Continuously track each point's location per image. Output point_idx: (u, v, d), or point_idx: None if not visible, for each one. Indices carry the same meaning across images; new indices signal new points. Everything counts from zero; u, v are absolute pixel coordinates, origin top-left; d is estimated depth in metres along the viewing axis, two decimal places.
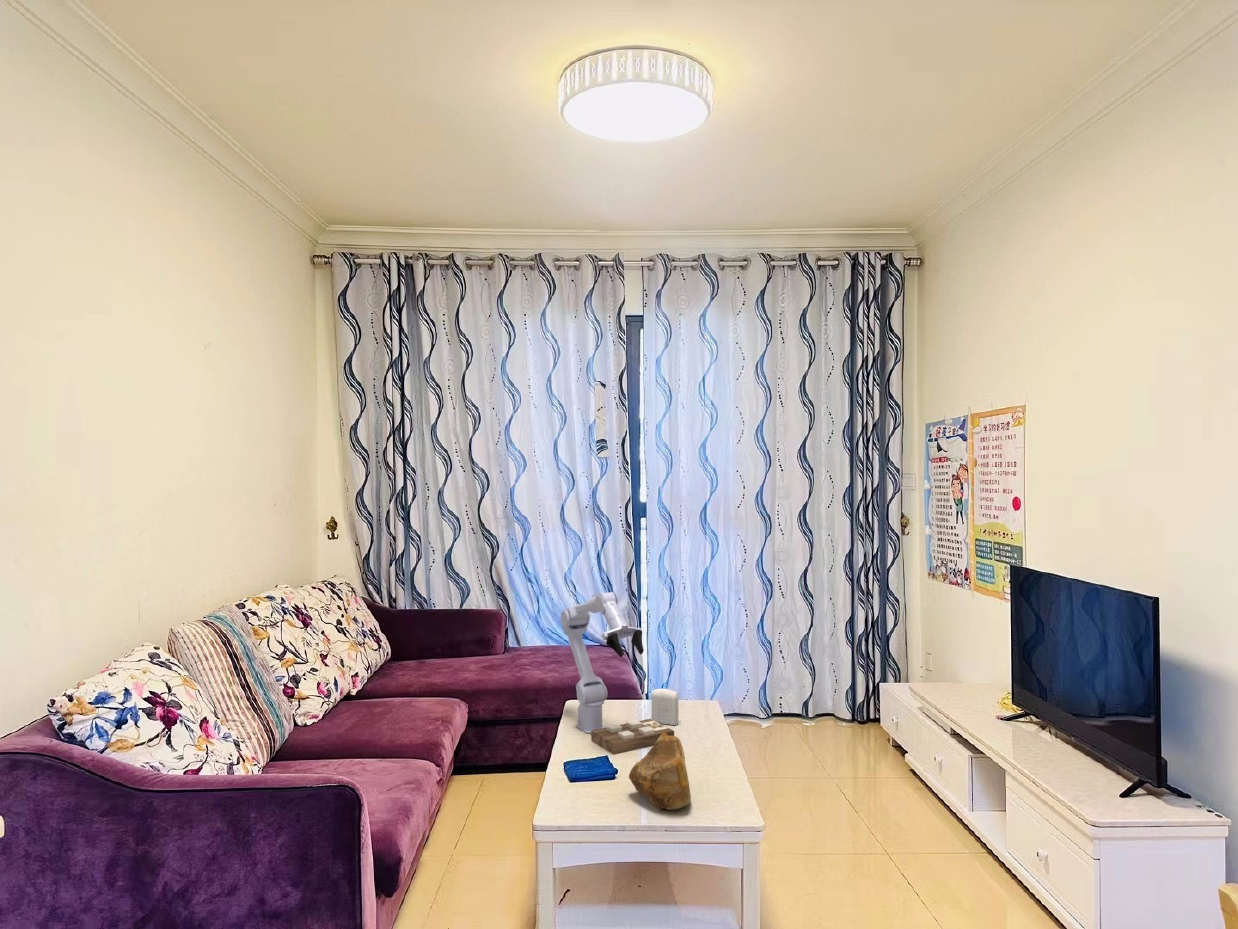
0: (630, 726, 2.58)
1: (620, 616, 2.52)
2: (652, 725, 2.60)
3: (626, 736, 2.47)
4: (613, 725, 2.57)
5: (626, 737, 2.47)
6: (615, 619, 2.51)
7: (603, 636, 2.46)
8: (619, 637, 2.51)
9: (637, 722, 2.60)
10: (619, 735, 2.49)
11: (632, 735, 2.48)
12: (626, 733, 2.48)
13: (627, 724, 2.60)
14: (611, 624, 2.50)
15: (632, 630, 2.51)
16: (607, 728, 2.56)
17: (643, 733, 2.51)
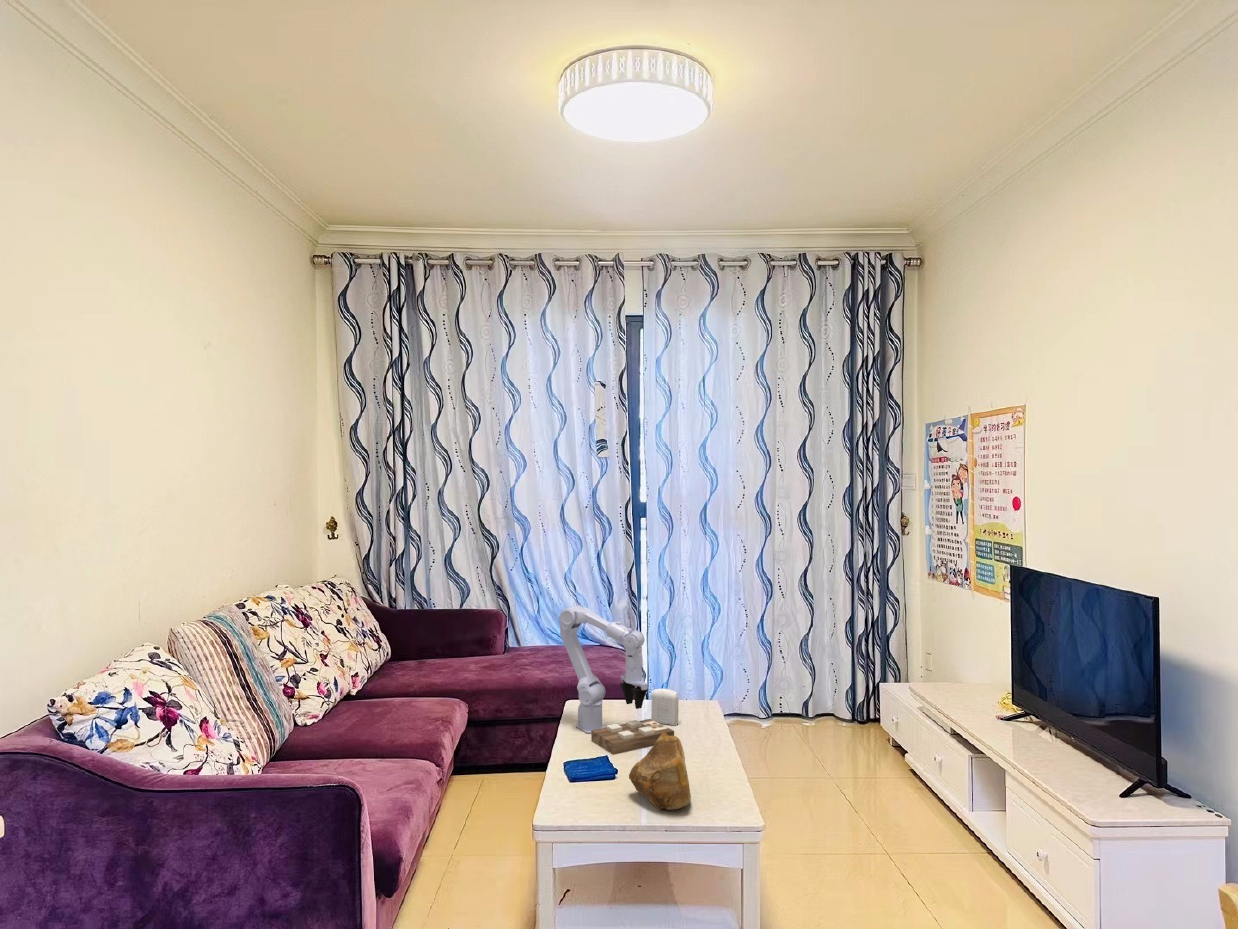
0: (630, 726, 2.58)
1: None
2: (652, 725, 2.60)
3: (626, 736, 2.47)
4: (613, 725, 2.57)
5: (626, 737, 2.47)
6: (641, 669, 2.60)
7: (645, 687, 2.54)
8: (629, 682, 2.59)
9: (637, 722, 2.60)
10: (619, 735, 2.49)
11: (632, 735, 2.48)
12: (626, 733, 2.48)
13: (627, 724, 2.60)
14: (639, 672, 2.58)
15: None
16: (607, 728, 2.56)
17: (643, 733, 2.51)
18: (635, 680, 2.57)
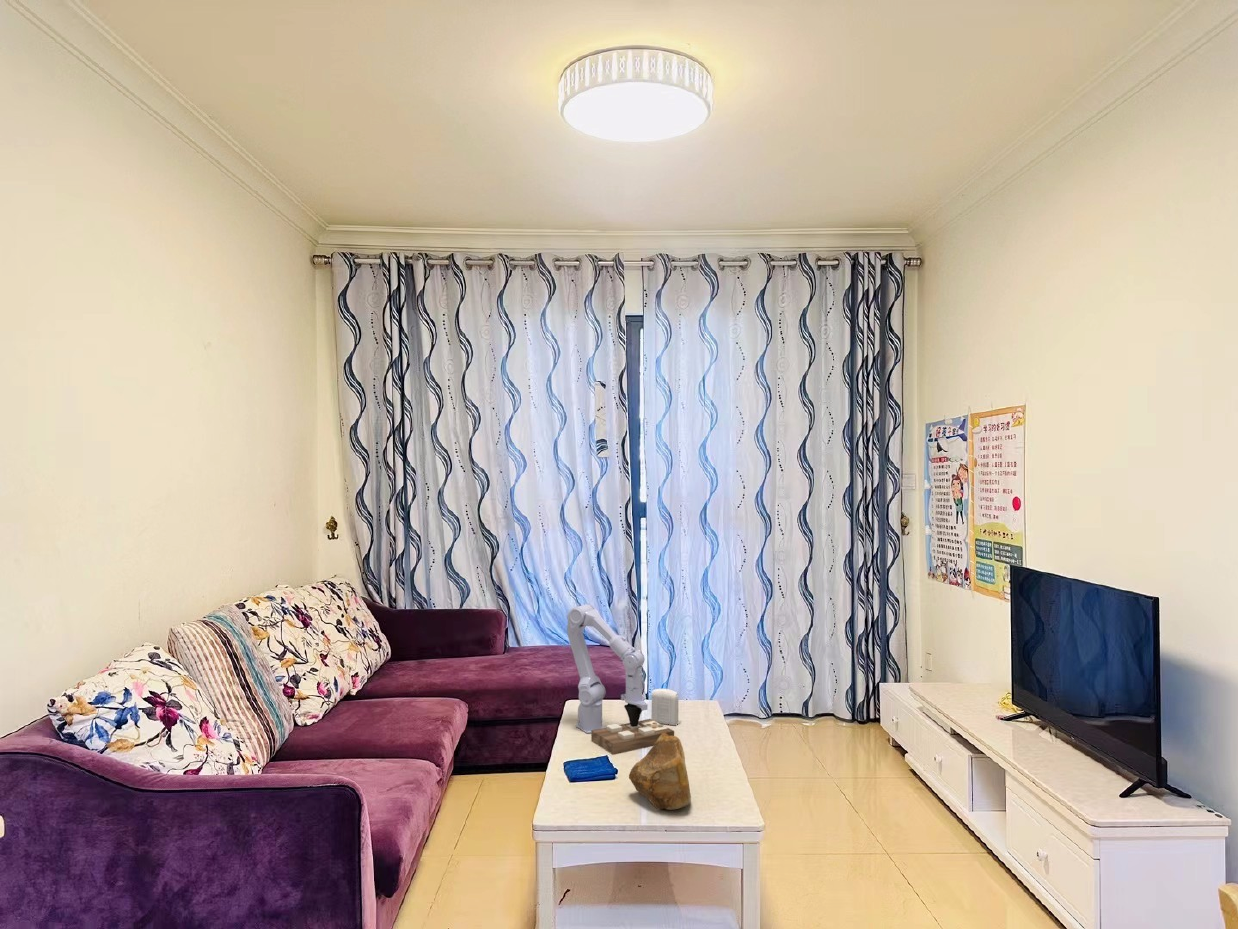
0: None
1: None
2: (652, 725, 2.60)
3: (626, 736, 2.47)
4: (613, 725, 2.57)
5: (626, 737, 2.47)
6: None
7: (645, 707, 2.54)
8: (629, 702, 2.59)
9: None
10: (619, 735, 2.49)
11: (632, 735, 2.48)
12: (626, 733, 2.48)
13: None
14: (639, 692, 2.58)
15: None
16: (607, 728, 2.56)
17: (643, 733, 2.51)
18: (635, 700, 2.57)
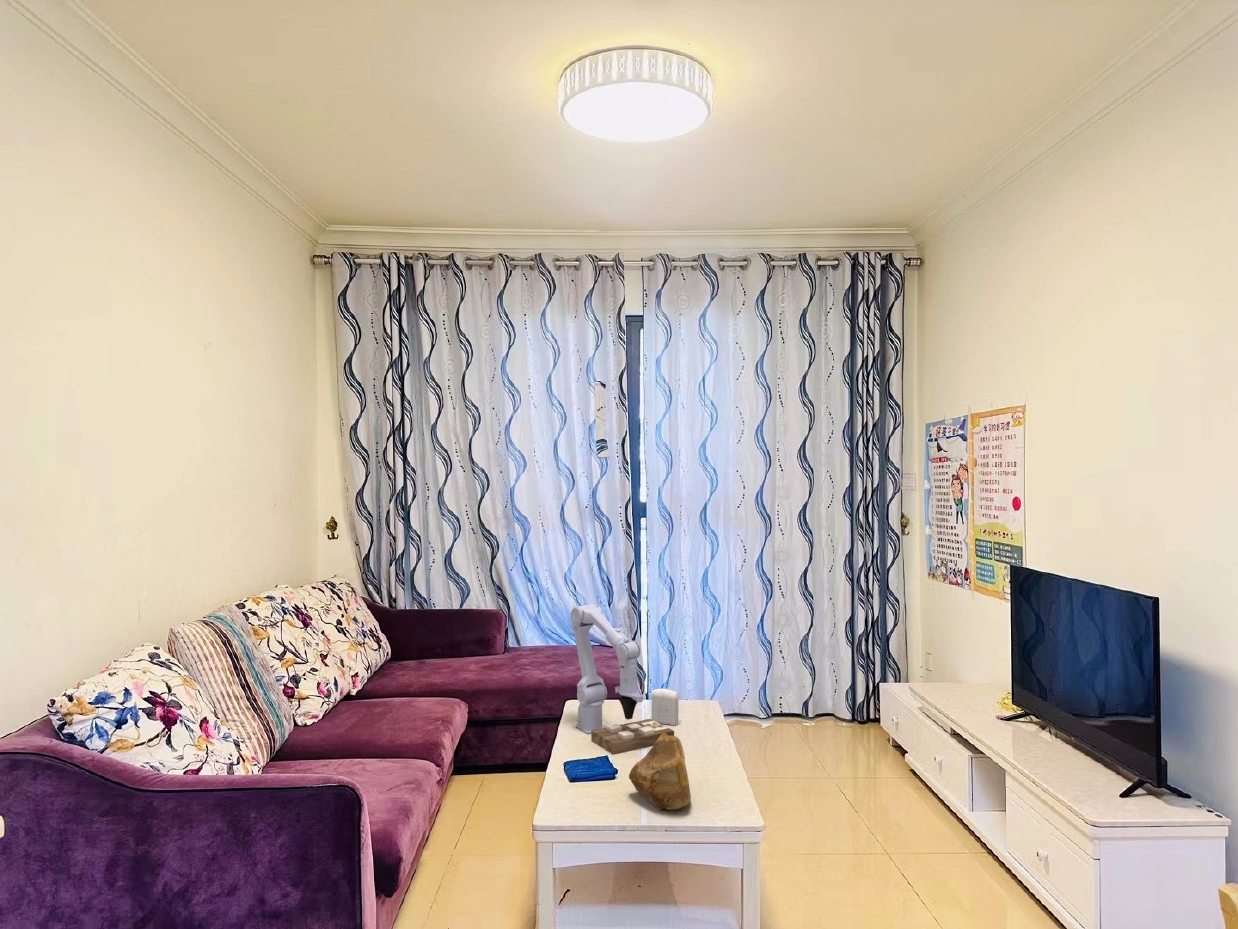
0: None
1: None
2: (652, 725, 2.60)
3: (626, 736, 2.47)
4: (613, 725, 2.57)
5: (626, 737, 2.47)
6: (636, 680, 2.52)
7: (640, 699, 2.46)
8: None
9: (637, 725, 2.60)
10: (619, 735, 2.49)
11: (632, 735, 2.48)
12: (626, 733, 2.48)
13: None
14: (634, 684, 2.50)
15: None
16: (607, 728, 2.56)
17: (643, 733, 2.51)
18: (630, 692, 2.50)
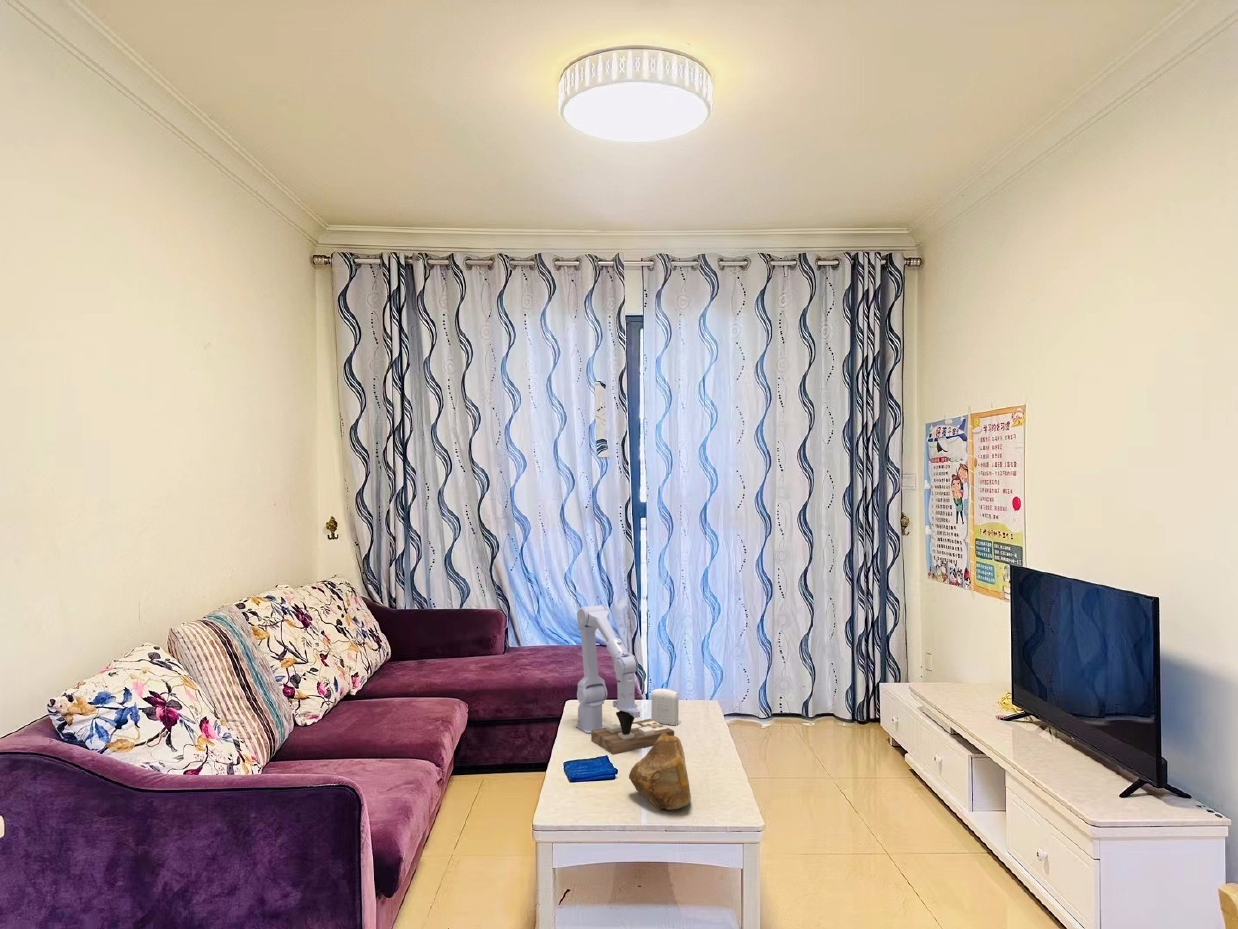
0: None
1: None
2: (652, 725, 2.60)
3: (626, 737, 2.47)
4: (613, 725, 2.57)
5: (626, 738, 2.47)
6: (634, 695, 2.49)
7: (637, 714, 2.43)
8: None
9: (637, 725, 2.60)
10: (619, 736, 2.49)
11: (632, 736, 2.48)
12: None
13: None
14: (632, 699, 2.47)
15: None
16: (607, 728, 2.56)
17: (643, 733, 2.51)
18: (627, 707, 2.46)
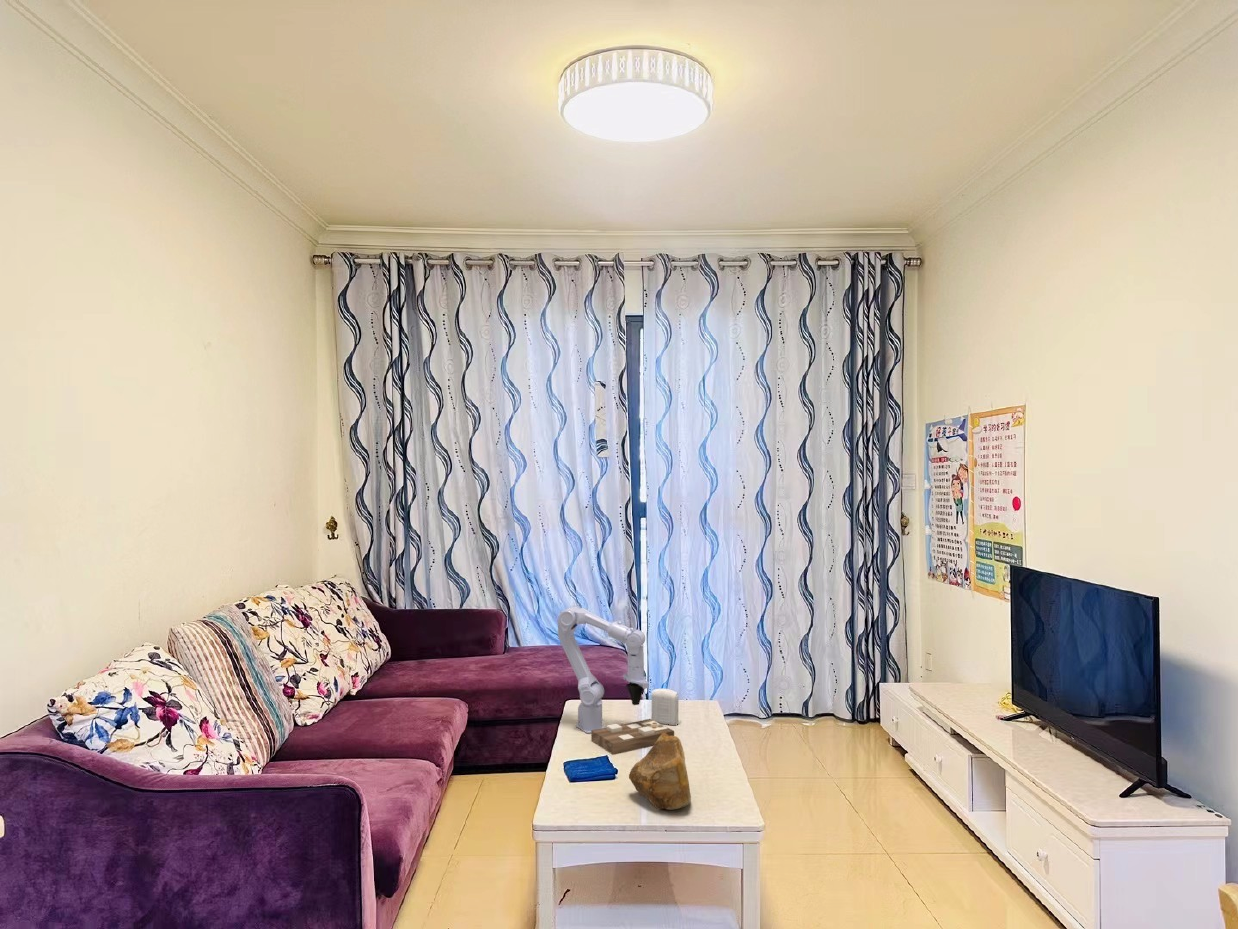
0: None
1: None
2: (652, 725, 2.60)
3: None
4: (613, 725, 2.57)
5: None
6: (643, 668, 2.63)
7: (646, 686, 2.57)
8: None
9: (637, 725, 2.60)
10: None
11: None
12: (626, 737, 2.48)
13: None
14: (641, 671, 2.61)
15: None
16: (607, 728, 2.56)
17: (643, 733, 2.51)
18: (637, 679, 2.60)
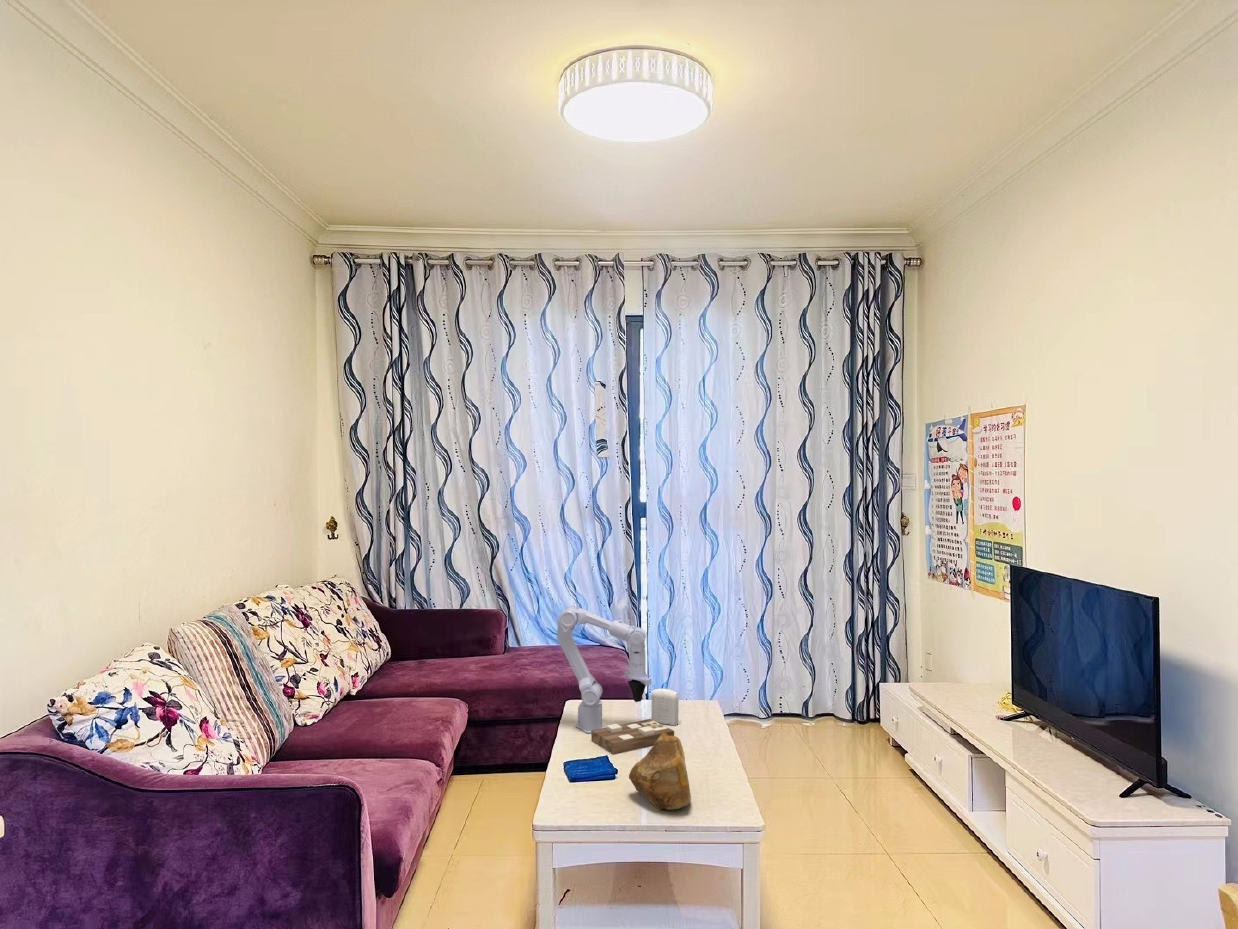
0: None
1: None
2: (652, 725, 2.60)
3: None
4: (613, 725, 2.57)
5: None
6: None
7: (648, 682, 2.59)
8: None
9: (637, 725, 2.60)
10: None
11: None
12: (626, 737, 2.48)
13: None
14: (643, 668, 2.64)
15: None
16: (607, 728, 2.56)
17: (643, 733, 2.51)
18: (639, 676, 2.63)
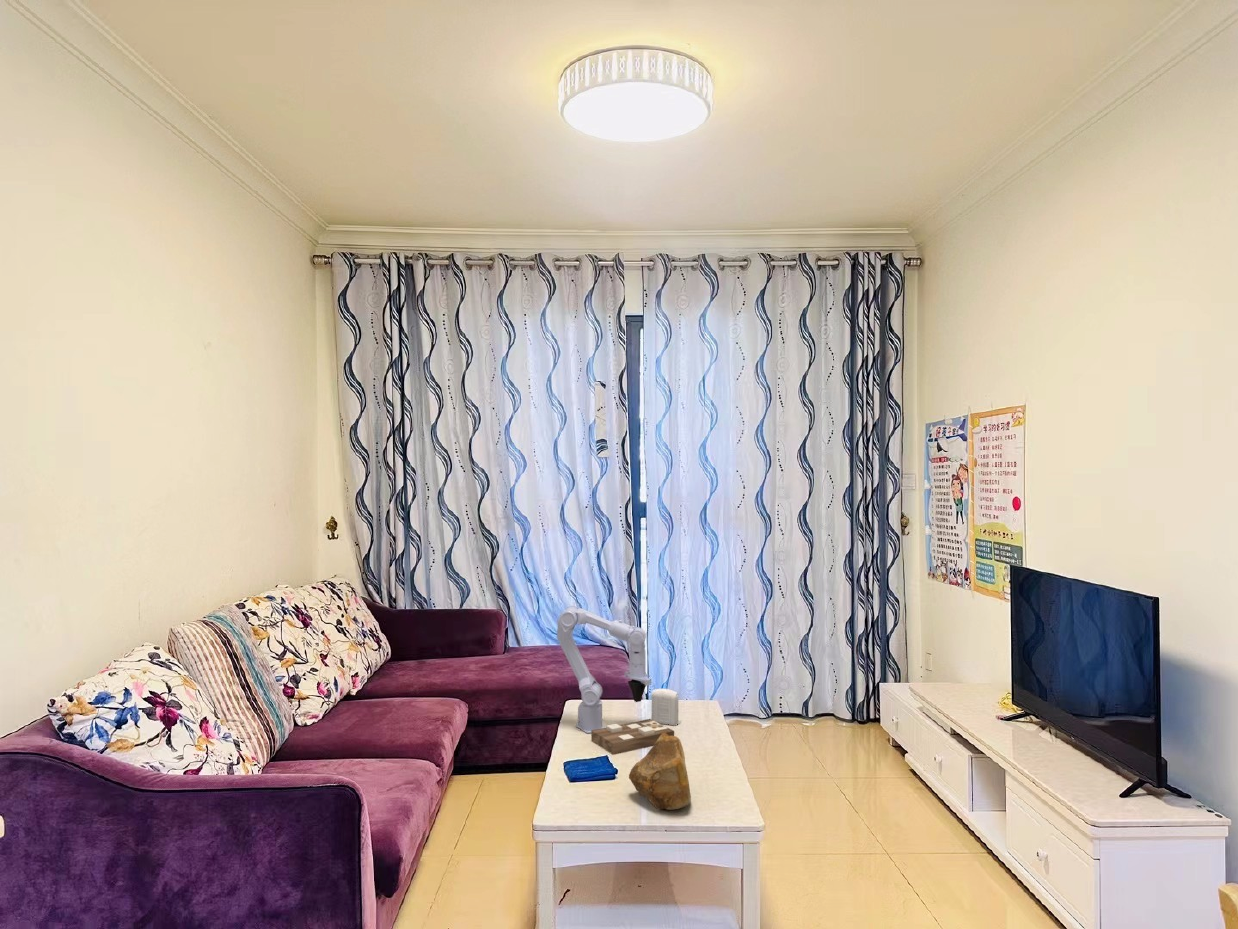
0: None
1: None
2: (652, 725, 2.60)
3: None
4: (613, 725, 2.57)
5: None
6: None
7: (648, 682, 2.59)
8: None
9: (637, 725, 2.60)
10: None
11: None
12: (626, 737, 2.48)
13: None
14: (643, 668, 2.64)
15: None
16: (607, 728, 2.56)
17: (643, 733, 2.51)
18: (639, 676, 2.63)
